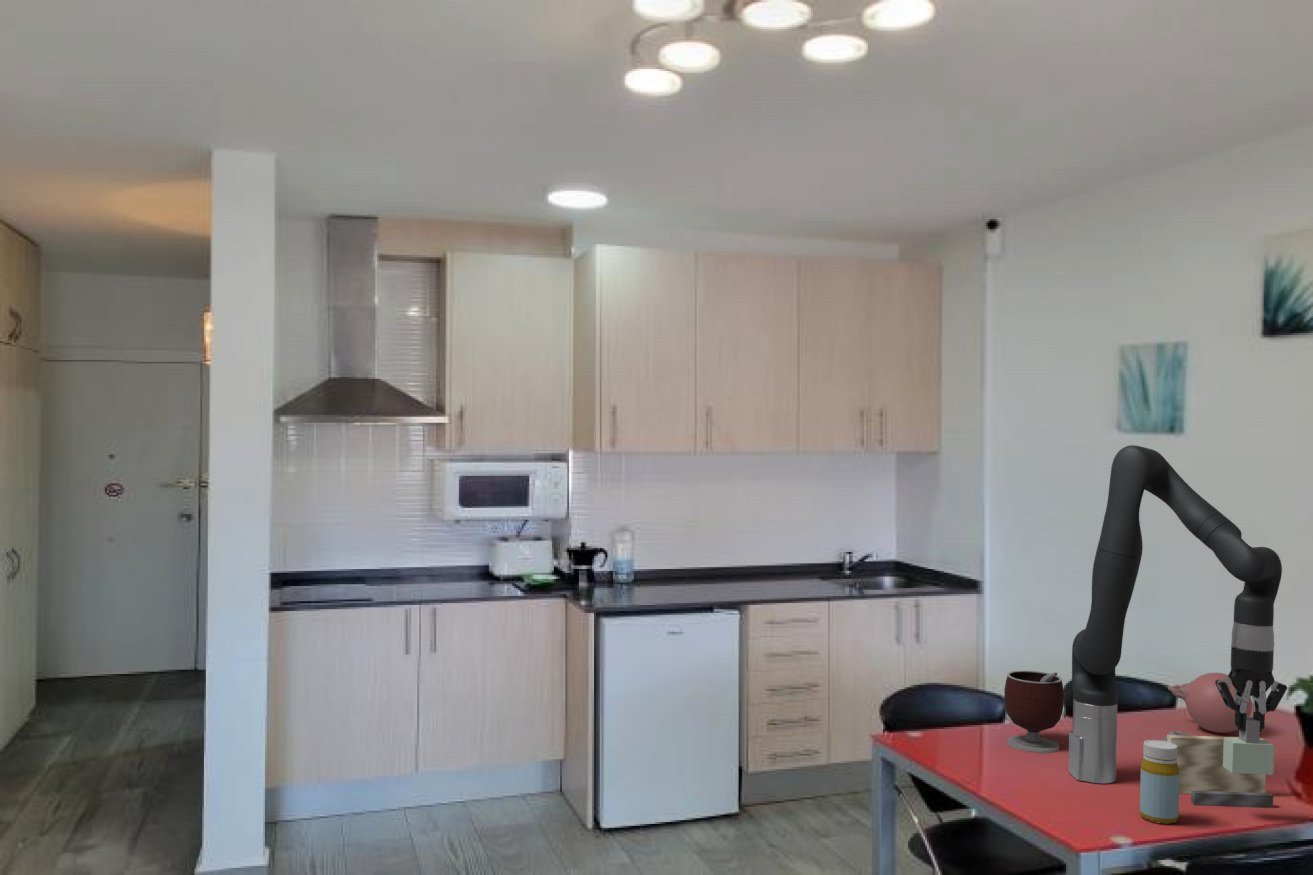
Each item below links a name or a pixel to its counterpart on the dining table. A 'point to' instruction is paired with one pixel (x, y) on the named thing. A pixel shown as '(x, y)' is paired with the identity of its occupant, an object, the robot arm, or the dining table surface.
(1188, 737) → the wall board
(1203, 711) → the balloon
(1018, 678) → the mate gourd
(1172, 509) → the robot arm
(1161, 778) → the bottle
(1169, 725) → the dining table surface
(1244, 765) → the cabinet block
